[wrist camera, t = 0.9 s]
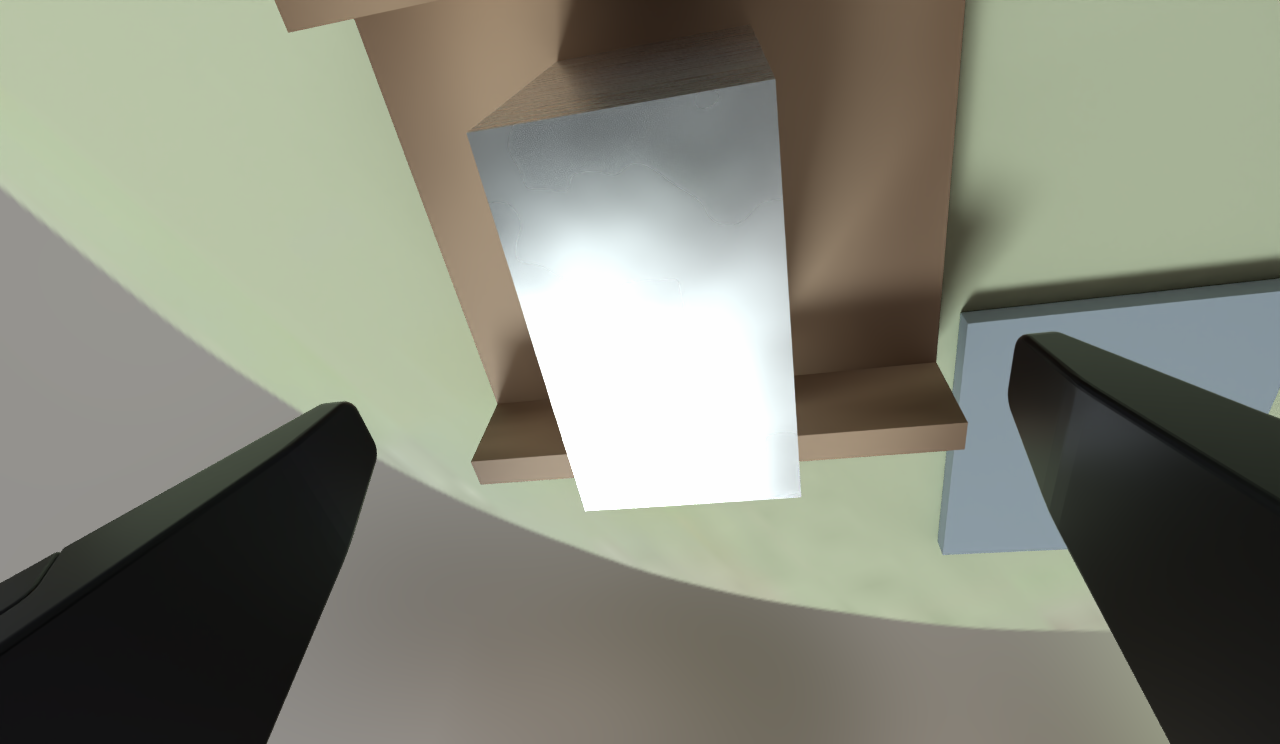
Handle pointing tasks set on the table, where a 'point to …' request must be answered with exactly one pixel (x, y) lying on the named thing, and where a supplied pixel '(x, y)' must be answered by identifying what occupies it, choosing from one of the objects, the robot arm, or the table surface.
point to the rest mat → (1124, 325)
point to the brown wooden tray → (811, 185)
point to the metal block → (654, 266)
